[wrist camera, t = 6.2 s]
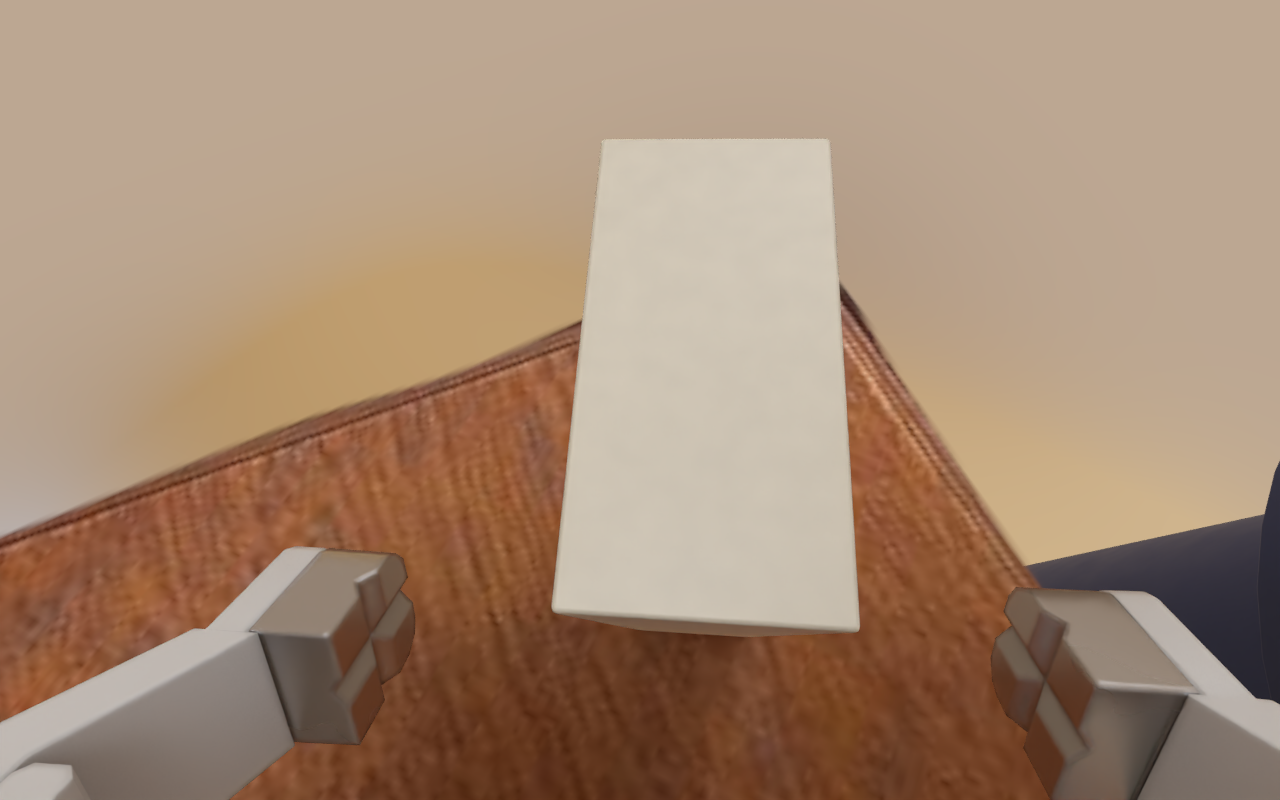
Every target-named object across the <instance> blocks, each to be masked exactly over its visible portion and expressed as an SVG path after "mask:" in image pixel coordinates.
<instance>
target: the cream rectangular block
mask: <svg viewBox="0 0 1280 800" xmlns="http://www.w3.org/2000/svg"><path fill="white" fill-rule="evenodd" d="M551 607H552V611H553V612H554V613H556V614H561V615H566V616H571V617H576V618H581V619H586V620H591V621H596V622H601V623H606V624H611V625H616V626H621V627H626V628H631V629H636V630H645V631H660V632H675V633H691V634H706V635H721V636H736V637H758V636H784V635H810V634H836V633H855V632H857V631H859V628H860V616H859V600H858V584H857V567H856V551H855V534H854V518H853V502H852V485H851V469H850V452H849V436H848V419H847V403H846V387H845V370H844V354H843V337H842V321H841V305H840V288H839V272H838V256H837V239H836V223H835V206H834V191H833V173H832V158H831V143H830V140H829V139H605V140H603V141H602V143H601V151H600V160H599V169H598V178H597V187H596V197H595V206H594V215H593V225H592V234H591V243H590V253H589V262H588V271H587V280H586V290H585V299H584V308H583V318H582V327H581V336H580V345H579V355H578V364H577V373H576V382H575V392H574V401H573V410H572V420H571V429H570V438H569V448H568V457H567V466H566V475H565V485H564V494H563V503H562V513H561V522H560V531H559V540H558V550H557V559H556V568H555V578H554V587H553V596H552V606H551Z"/></svg>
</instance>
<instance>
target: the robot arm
mask: <svg viewBox="0 0 1280 800" xmlns="http://www.w3.org/2000/svg"><path fill="white" fill-rule="evenodd" d="M407 578H408V576H407V572H406V568H405V563H404V559H403V558H402V557H401V556H399V555H398V554H396V553H386V552H373V551H361V550H348V549H335V548H328V549H325V548H315V547H301V546H295V547H292V548H289V549H286V550H284V551H283V552H282V553H281V554H280V555H279V556H278V557H277V558H276V559H275V560H274V561H273V562H272V563H271V564H270V565H269V566H268V567H267V568H266V569H265V570H264V571H263V572H262V573H261V574H260V575H259V576H258V577H257V578H256V579H255V580H254V581H253V582H252V583H251V584H250V585H249V586H248V587H247V588H246V589H245V590H244V591H243V592H242V593H241V594H240V595H239V596H238V597H237V598H236V599H235V600H234V601H233V602H232V603H231V604H230V605H229V606H228V607H227V608H226V609H225V610H224V611H223V612H222V613H221V614H220V615H219V616H218V617H217V618H216V619H215V620H214V621H213V622H212V623H211V624H210V625H209V626H208V627H207V628H206V629H192V630H190V631H188V632H186V633H184V634H182V635H180V636H178V637H176V638H174V639H171V640H169V641H167V642H165V643H163V644H161V645H159V646H157V647H155V648H153V649H151V650H149V651H147V652H145V653H143V654H141V655H138V656H136V657H134V658H132V659H130V660H128V661H126V662H124V663H122V664H120V665H118V666H116V667H114V668H112V669H110V670H108V671H105V672H103V673H101V674H99V675H97V676H95V677H93V678H91V679H89V680H87V681H85V682H83V683H81V684H79V685H77V686H75V687H73V688H70V689H68V690H66V691H64V692H62V693H60V694H58V695H56V696H54V697H52V698H50V699H48V700H46V701H44V702H42V703H40V704H37V705H35V706H33V707H31V708H29V709H27V710H25V711H23V712H21V713H19V714H17V715H15V716H13V717H11V718H9V719H7V720H5V721H2V722H0V800H229V799H230V798H232V797H233V796H234V795H235V794H237V793H238V792H239V791H240V790H241V789H243V788H244V787H245V786H246V785H248V784H249V783H250V782H251V781H252V780H254V779H255V778H256V777H257V776H259V775H260V774H261V773H262V772H263V771H265V770H266V769H267V768H268V767H270V766H271V765H272V764H273V763H274V762H276V761H277V760H278V759H279V758H281V757H282V756H283V755H284V754H285V753H287V752H288V751H289V750H290V749H292V748H293V747H294V746H295V743H294V742H307V743H327V744H347V745H360V744H361V742H362V740H363V738H364V737H365V735H366V733H367V731H368V730H369V728H370V726H371V724H372V722H373V721H374V719H375V717H376V715H377V713H378V712H379V710H380V708H381V706H382V704H383V703H384V701H385V699H384V695H383V690H382V686H381V685H383V684H384V683H385V682H387V681H388V680H390V679H391V678H393V677H394V676H396V675H397V674H398V673H400V672H401V670H402V668H403V666H404V664H405V662H406V660H407V658H408V656H409V654H410V650H411V646H412V642H413V639H414V635H415V612H414V607H413V602H412V601H411V600H410V599H409V598H408V597H407V596H406V595H405V594H404V593H403V592H402V591H401V590H400V589H401V587H402V586H403V584H404V583H405V581H406V579H407ZM1004 613H1005V615H1006V616H1007V618H1008V620H1009V621H1010V623H1011V625H1012V626H1010V627H1009V628H1008V629H1006V630H1005V631H1004V632H1003V633H1001V634H1000V635H999V636H997V637H996V638H995V642H994V646H993V650H992V654H991V674H992V682H993V685H994V689H995V692H996V695H997V698H998V700H999V702H1000V704H1001V706H1002V708H1003V710H1004V712H1005V714H1006V715H1007V716H1008V717H1009V718H1010V719H1012V720H1013V721H1014V722H1015V723H1017V724H1018V725H1019V726H1020V727H1022V728H1023V729H1024V730H1025V731H1027V732H1028V733H1027V736H1026V740H1025V743H1024V746H1023V749H1024V751H1025V752H1026V754H1027V756H1028V758H1029V760H1030V762H1031V764H1032V766H1033V768H1034V769H1035V771H1036V773H1037V775H1038V777H1039V779H1040V781H1041V783H1042V785H1043V787H1044V788H1045V790H1046V792H1047V794H1048V796H1049V798H1050V800H1280V704H1278V703H1276V702H1274V701H1272V700H1264V699H1256V698H1255V697H1254V696H1253V695H1252V694H1251V693H1250V692H1249V691H1248V690H1247V689H1246V688H1245V687H1244V686H1243V685H1242V684H1241V683H1240V682H1239V681H1238V680H1237V679H1236V678H1235V677H1234V676H1233V675H1232V674H1231V673H1230V672H1229V671H1228V670H1227V669H1226V668H1225V667H1224V666H1223V665H1222V664H1221V663H1220V662H1219V660H1218V659H1217V658H1216V657H1215V656H1214V655H1213V654H1212V653H1211V652H1210V651H1209V650H1208V649H1207V648H1206V647H1205V646H1204V645H1203V644H1202V643H1201V642H1200V641H1199V640H1198V639H1197V638H1196V637H1195V636H1194V635H1193V634H1192V633H1191V632H1190V631H1189V630H1188V629H1187V628H1186V627H1185V626H1184V625H1183V624H1182V623H1181V622H1180V621H1179V620H1178V619H1177V618H1176V617H1175V616H1174V615H1173V613H1172V612H1171V611H1170V610H1169V609H1168V608H1167V607H1166V606H1165V605H1164V604H1163V603H1162V602H1161V601H1160V600H1159V599H1157V598H1156V597H1154V596H1152V595H1150V594H1148V593H1146V592H1142V591H1111V590H1100V591H1085V590H1064V589H1044V588H1023V587H1016V588H1015V589H1014V590H1013V591H1012V592H1011V594H1010V595H1009V596H1008V599H1007V602H1006V605H1005V608H1004Z"/></svg>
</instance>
